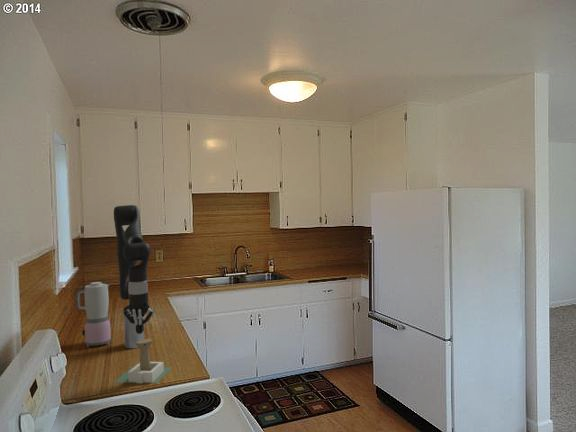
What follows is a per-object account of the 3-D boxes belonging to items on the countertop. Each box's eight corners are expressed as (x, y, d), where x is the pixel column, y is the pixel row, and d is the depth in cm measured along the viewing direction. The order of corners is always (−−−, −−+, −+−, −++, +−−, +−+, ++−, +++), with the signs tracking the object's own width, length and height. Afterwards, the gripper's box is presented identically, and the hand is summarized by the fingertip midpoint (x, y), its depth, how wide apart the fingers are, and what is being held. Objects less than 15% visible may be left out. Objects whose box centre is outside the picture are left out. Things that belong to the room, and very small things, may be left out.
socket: (141, 370, 177) (141, 361, 177) (163, 371, 176) (163, 362, 176) (127, 382, 165) (126, 373, 165) (151, 383, 164) (151, 373, 164)
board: (133, 368, 182) (133, 366, 182) (172, 369, 180) (172, 366, 180) (113, 384, 167) (113, 381, 167) (156, 385, 165) (156, 382, 164)
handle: (154, 377, 170) (153, 341, 169) (138, 381, 167) (136, 344, 166) (152, 373, 174) (151, 338, 173) (136, 377, 171) (135, 340, 171)
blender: (112, 338, 225) (109, 279, 224) (111, 345, 213) (108, 283, 213) (79, 342, 219) (77, 282, 218) (76, 350, 208) (74, 286, 207)
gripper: (157, 289, 174) (159, 330, 175) (127, 289, 175) (128, 330, 176) (150, 293, 166) (151, 336, 167) (118, 293, 168) (120, 336, 168)
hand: (139, 333), depth 172 cm, fingers closed
